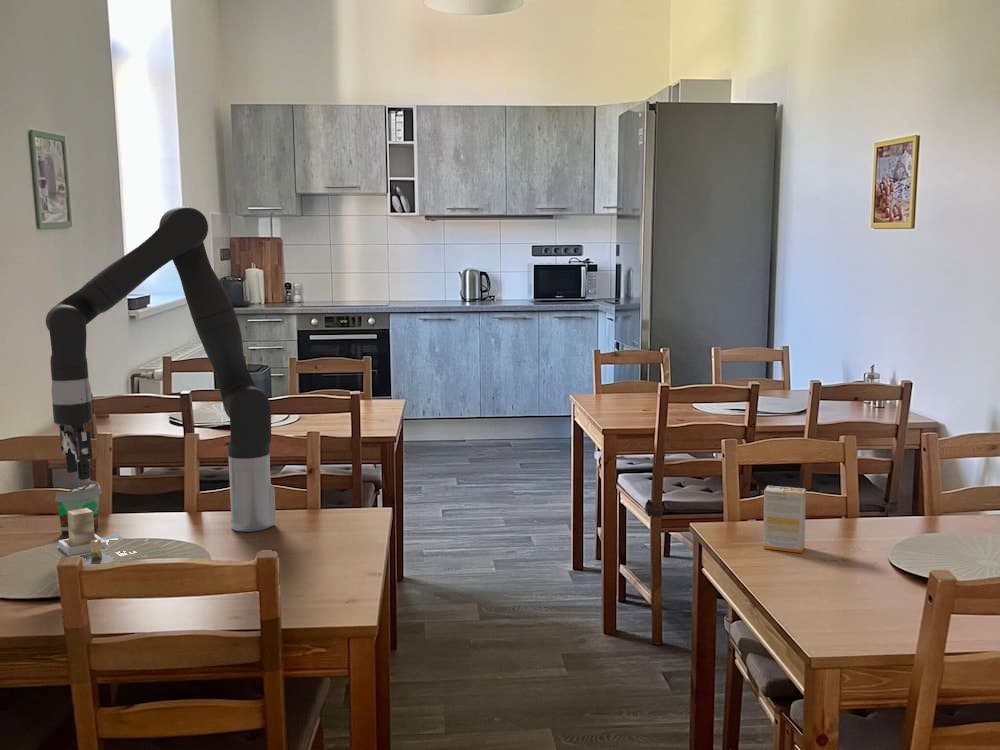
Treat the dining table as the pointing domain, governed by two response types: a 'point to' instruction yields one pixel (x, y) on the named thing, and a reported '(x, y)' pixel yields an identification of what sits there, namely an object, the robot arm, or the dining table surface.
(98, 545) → the pin
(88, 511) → the square pin
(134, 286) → the robot arm
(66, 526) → the food container
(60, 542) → the board
